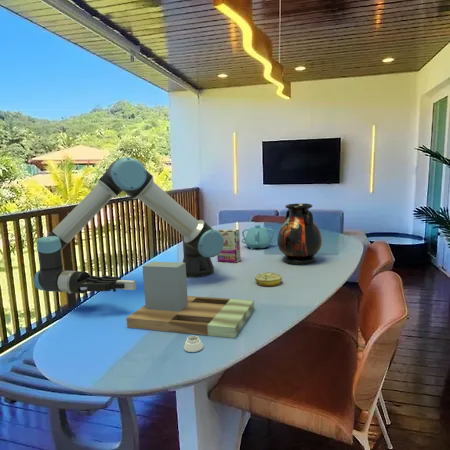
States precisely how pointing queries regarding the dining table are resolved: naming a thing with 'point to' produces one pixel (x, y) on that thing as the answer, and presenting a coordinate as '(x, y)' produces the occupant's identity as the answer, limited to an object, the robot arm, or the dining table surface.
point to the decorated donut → (268, 279)
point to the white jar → (193, 344)
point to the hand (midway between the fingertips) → (134, 285)
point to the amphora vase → (299, 235)
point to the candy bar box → (230, 246)
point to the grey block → (165, 286)
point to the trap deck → (197, 317)
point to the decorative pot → (257, 237)
